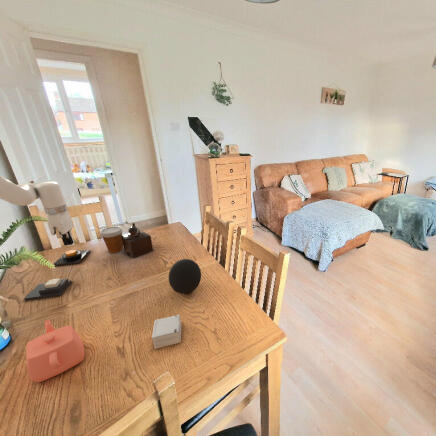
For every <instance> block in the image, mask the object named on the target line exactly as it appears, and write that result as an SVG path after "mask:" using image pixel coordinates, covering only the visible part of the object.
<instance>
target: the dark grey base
mask: <svg viewBox="0 0 436 436" xmlns="http://www.w3.org/2000/svg"><path fill="white" fill-rule="evenodd" d="M60 279H61V283H60V284H59V285H58V286H57V287H52V288H45V286H44V285H45V284H46V283H47V282H44V283H38V284H37V285H36V286H35V287H34V288H32V289H31V291H29V293H27V295H26V296H25V297H24V298H23V300H24V302H26V301H34V300H42V299H49V298H59V297H61V296H62V295H63V294H64V292H65V291H66V290H67V289H68V288H69V287H70V285H72V280H71V279H68V278H60Z"/></svg>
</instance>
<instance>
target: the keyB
mask: <svg viewBox="0 0 436 436" xmlns="http://www.w3.org/2000/svg"><path fill="white" fill-rule="evenodd" d="M64 253H65V254H66V256H73V255H75V254H77V252H76V249H70V250H67V251H66V252H64Z"/></svg>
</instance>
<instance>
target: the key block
mask: <svg viewBox="0 0 436 436" xmlns="http://www.w3.org/2000/svg"><path fill="white" fill-rule="evenodd" d="M75 250H76V249H75ZM76 252H77V254H75V255H73V256H66V254H65V253H66V252H64V253H62V255H61V256H60V257H59V258H58V259H57V260H56V261H55V262H53V264H54V265H55V266H54V267H62V266H72V265H73V266H74V265H80V264H81V263H82V262H83V261H84V259H85V258H87V256H88V255H89V254H90V253H91V250H90V249H84V250H78V249H77V250H76Z"/></svg>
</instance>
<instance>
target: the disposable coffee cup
mask: <svg viewBox="0 0 436 436" xmlns="http://www.w3.org/2000/svg"><path fill="white" fill-rule="evenodd" d="M123 231H124V230H123V229H122V227H120V226H109V227H106V228H103V229H101V230H100V233H99V235H100V236H101V237H102V240H103V242H104V244H105V246H106V248H107V251H108V252H109V253H110V254H117V253H120V252H122V251H124V247H123V243H122V239H121V236H123Z"/></svg>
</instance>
